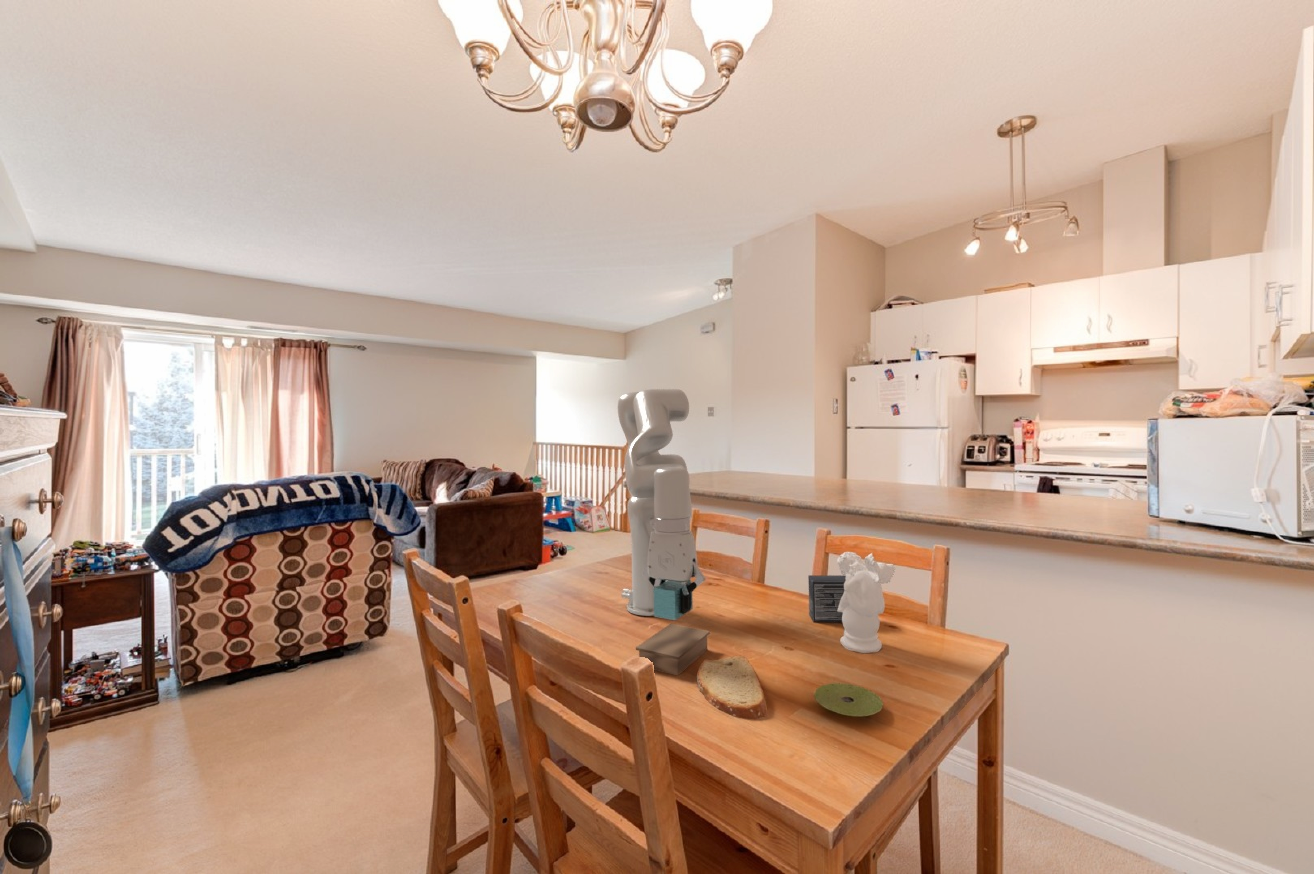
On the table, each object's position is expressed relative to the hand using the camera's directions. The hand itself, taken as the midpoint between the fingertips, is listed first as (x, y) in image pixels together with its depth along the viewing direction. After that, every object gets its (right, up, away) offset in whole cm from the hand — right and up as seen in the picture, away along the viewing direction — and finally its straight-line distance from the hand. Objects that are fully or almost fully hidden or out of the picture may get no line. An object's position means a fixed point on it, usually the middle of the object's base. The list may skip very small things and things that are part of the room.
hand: (673, 609), depth 115 cm
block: (0, -1, 0) cm, 1 cm away
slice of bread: (+11, -11, -13) cm, 21 cm away
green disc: (+30, -11, -21) cm, 38 cm away
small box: (+41, -10, +22) cm, 47 cm away
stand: (0, -11, 0) cm, 11 cm away
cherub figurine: (+44, -10, +5) cm, 45 cm away
